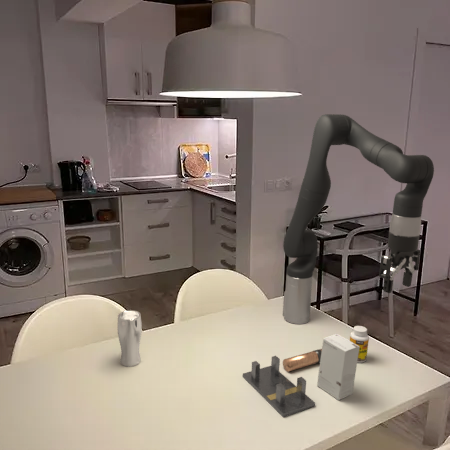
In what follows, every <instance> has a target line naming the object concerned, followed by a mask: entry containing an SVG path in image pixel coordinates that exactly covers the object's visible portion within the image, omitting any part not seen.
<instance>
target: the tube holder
mask: <svg viewBox="0 0 450 450" xmlns="http://www.w3.org/2000/svg"><path fill="white" fill-rule="evenodd" d="M280 362H281V360H280V357H278V356H277V355H274V356H271V363H270V364H271V365H269V366H265V367H261V365H260V363H259V361H257V360H254V361H251V370H250V371H248V372H244V373H242V378H244V380H245V381H246V382H247V383H248V384H249V385H250V386H251V387H252V388H253V389H254V390H255V391H256V392H257V393H258V394H259V395H260V396H261V397H262V398H263V399H264V400H265V401H266V402H268V403H269V405H270V406H271V407H272V408H274V410H276V412H277V413H278V414H279V415H281V417H283V418H285V417H288V416H291V415H294V414H298V413H299V412H302V411H305V410H308V409H311V408H314V407H316V402H315V401H314V400H313V399H312V398H310V396H308V395H307V394H306V389H307V380H306V379H305V378H304V377H303V376H300V377H297V380H296V385H295V384H294V383H293V382H292V381H291V380H290V379H289V378H287V377H286V376H285V375H284V374H282V372H280V365H281V364H280Z"/></svg>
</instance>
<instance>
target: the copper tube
mask: <svg viewBox="0 0 450 450" xmlns="http://www.w3.org/2000/svg"><path fill="white" fill-rule="evenodd" d="M321 352H322V348H319V349H316V350H312V351H308V352H306V353H305V352H304V353H301V354H298V355H295V356H291V357H288V358H284V359H283V360H282V366H283V369H284V371H285V372H291V371H295V370H298V369H301V368H305V367H309V366H313V365H315V364H320V360H321Z"/></svg>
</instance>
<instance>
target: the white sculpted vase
mask: <svg viewBox="0 0 450 450" xmlns="http://www.w3.org/2000/svg"><path fill="white" fill-rule="evenodd" d="M141 315H142V314H141V312H139V311H137V310H124V311H121V312H120V313H118V315H117V337H118V341H119V346H120V350H121V351H120V353H121V354H120V360H119V361H120V362H119V363H120V364H121V365H122V366H124V367H134V366H137V365H139V364H140V363H141V361H142V360H141V358H142V357H141V353H140V344H141V339H142V331H143V330H142V329H143V328H142V327H143V326H142V325H143V323H142V317H141Z"/></svg>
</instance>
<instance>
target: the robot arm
mask: <svg viewBox="0 0 450 450" xmlns="http://www.w3.org/2000/svg"><path fill="white" fill-rule="evenodd" d="M342 145H345V146H349V147H352V148H355V149H357V150H359V152H360V154H361V156H363V158H364V159H365V160H366V161H368V162H369V163H371V164H373V165H374V166H376V167H379V168H381V169H382V170H383V171H384V172H385V173H386V174H387V175H388V176H389V177H390V178H391V179H393V181H396V182H398V183H401V184H406V186H405V187H404V188H403V190H400V191H399V192H397V193H396V194H395V196H394V197H393V198H394V200H393V207H392V213H391V214H392V215H391V218H390V222H389V231H388V238H387V248H389V249H390V253H389V255H385V254H382V255H381V258H380V264H379V271H378V278H379V277H380V278H382V279H383V287H382V290H383V292H385V293H387V294H391V293H392V292H393V285H394V278H395V276H396V275H397V274H399V273H400V271H401V270H402V269H403V270H404V272H403V278H402V285H403V286H405V287H407V288H409V287H411V286H412V281H413V275H414V274H415V271H419V269H420V261H421V260H420V259H421V250H420V249H419V241H420V234H421V229H422V228H421V227H422V213H423V205H424V204H423V203H424V200H425V198H426V196H427V193H428V191H429V188H430V186H431V184H432V181H433V178H434V175H435V174H434V172H435V166H434V163H433V160H432V159H431V158H430V156H427V155H425V154H411V155H410V154H409V155H408V154H404V151H403V149H402V148H400V147H399V146H398V145H396V144H394V143H392V142H390V141H388V140H386V139H384V138H382V137H379V136H378V135H376V134H374V133H373V132H370V131H369V130H368V129H366V128H365V127H363V126H362V125H361V124H359V123H358V122H357V120H355V119H353V118H352V117H350V116H349V115H346V114H337V113H335V114H331V113H329V114H328V113H327V114H326V113H325V114H322V115H321V116H319V117H318V119H317V120H316V123H315V125H314V130H313V134H312V139H311V145H310V146H311V147H310V150H309V157H308V161H307V164H306V169H305V172H304V177H303V178H302V183H301V185H300V189H299V193H298V197H297V201H296V205H295V208H294V211H293V214H292V217H291V219H290V222H289V224H288V227H287V229H286V232H285V235H284V237H283V244H282V245H283V252H284V254H285V256H286V257H288V258H291V259H292V258H293V259H294V261H292V262H290V264H288V265H287V267H286V280H285V291H284V292H283V303H282V304H283V305H282V316H283V319H284V320H285V321H286V322H288V323H291V324H296V325H303V324H307V323H309V321H310V316H311V315H310V314H311V303H312V289H313V287H312V286H313V275H314V272H315V269H316V263H317V255H318V249H319V245H318V244H319V242H318V238H317V235H316V233H315V232H314V231H312V230H310V229H307V227H308V226H309V224H310V223H311V221H312V220H313V219H314V218H315V217H316V216H317V215H318V214H319V213H320V212H321V211H322V209H323V208H324V207H325V205H326V203H327V200H328V197H329V194H330V190H331V185H332V182H331V176H330V173H329V169H328V165H327V160H328V155H329V151H330V149H331V147H332V146H342Z"/></svg>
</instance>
